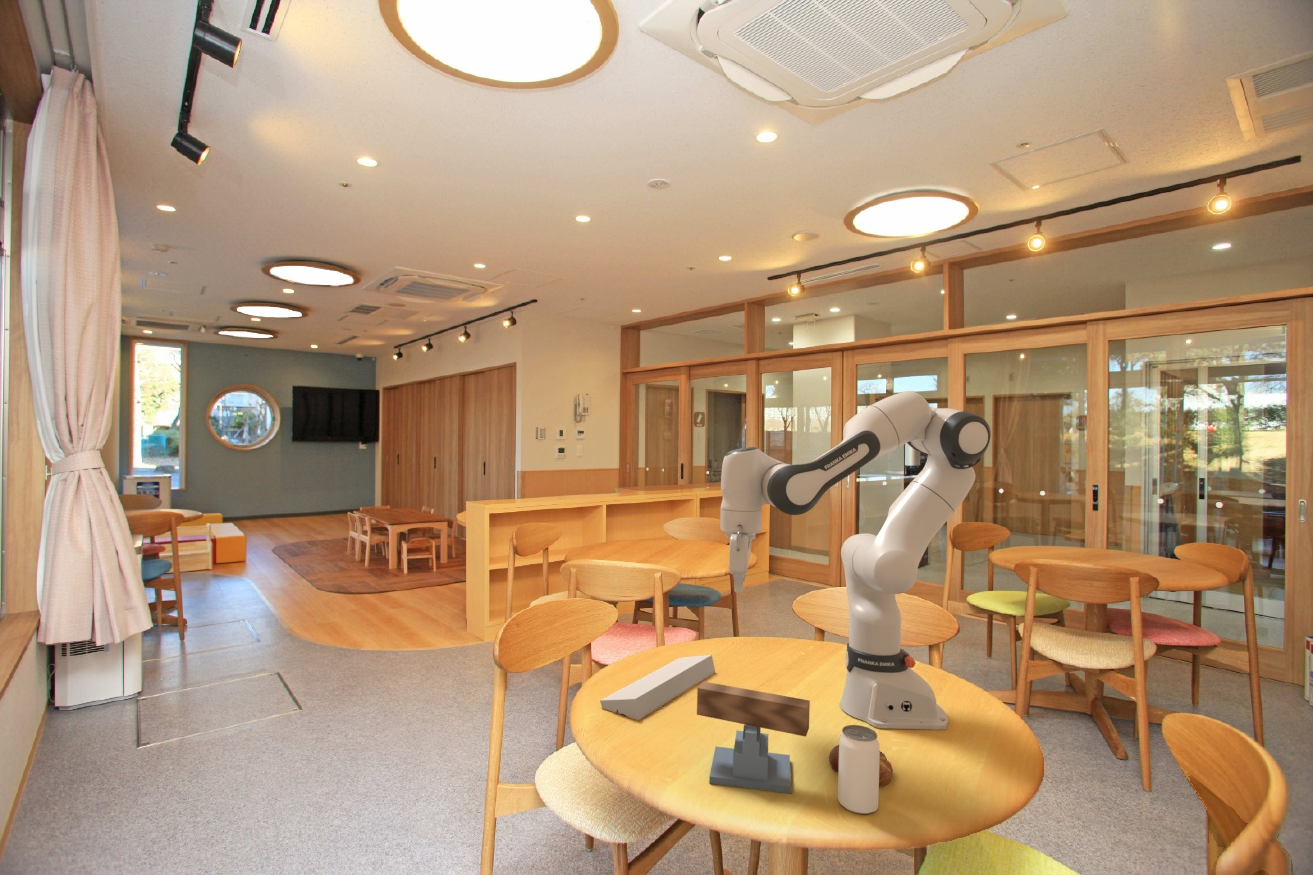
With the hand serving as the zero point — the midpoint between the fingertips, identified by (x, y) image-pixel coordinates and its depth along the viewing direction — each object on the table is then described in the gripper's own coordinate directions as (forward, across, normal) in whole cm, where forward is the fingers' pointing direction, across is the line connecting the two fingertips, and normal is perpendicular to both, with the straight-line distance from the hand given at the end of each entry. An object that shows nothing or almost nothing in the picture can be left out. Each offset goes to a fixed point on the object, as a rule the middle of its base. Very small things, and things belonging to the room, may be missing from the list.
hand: (739, 586), depth 135 cm
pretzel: (+29, -15, -24) cm, 41 cm away
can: (+29, -27, -21) cm, 45 cm away
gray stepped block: (+29, -20, -4) cm, 36 cm away
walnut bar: (+20, -20, -4) cm, 29 cm away
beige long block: (+30, +13, +19) cm, 37 cm away
